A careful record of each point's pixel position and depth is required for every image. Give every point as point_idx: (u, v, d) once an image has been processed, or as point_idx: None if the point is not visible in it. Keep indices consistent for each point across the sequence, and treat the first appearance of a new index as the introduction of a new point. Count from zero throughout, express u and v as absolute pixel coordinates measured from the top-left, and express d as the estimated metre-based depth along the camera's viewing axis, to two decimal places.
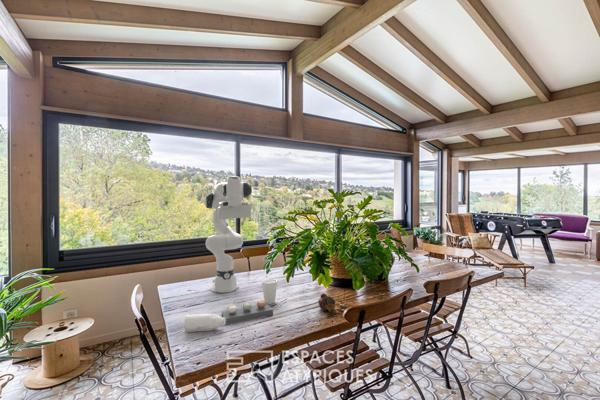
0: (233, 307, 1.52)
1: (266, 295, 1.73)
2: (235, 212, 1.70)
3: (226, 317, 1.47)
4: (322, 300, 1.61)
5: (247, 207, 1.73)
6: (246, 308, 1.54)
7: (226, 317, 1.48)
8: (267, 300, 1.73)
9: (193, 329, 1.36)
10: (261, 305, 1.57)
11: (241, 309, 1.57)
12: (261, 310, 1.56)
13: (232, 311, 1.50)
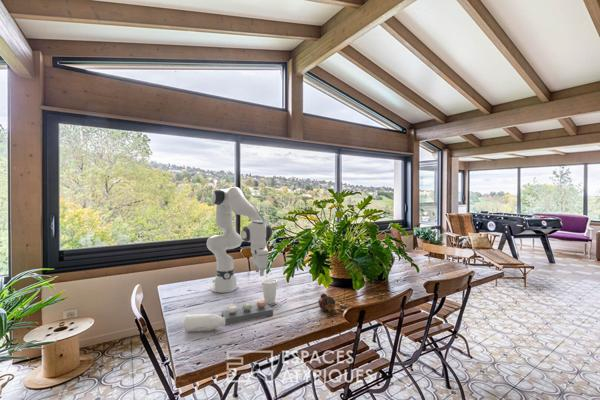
0: (233, 307, 1.52)
1: (266, 295, 1.73)
2: None
3: (226, 317, 1.47)
4: (322, 300, 1.61)
5: None
6: (246, 308, 1.54)
7: (226, 317, 1.48)
8: (267, 300, 1.73)
9: (193, 329, 1.36)
10: (261, 305, 1.57)
11: (241, 309, 1.57)
12: (261, 310, 1.56)
13: (232, 311, 1.50)
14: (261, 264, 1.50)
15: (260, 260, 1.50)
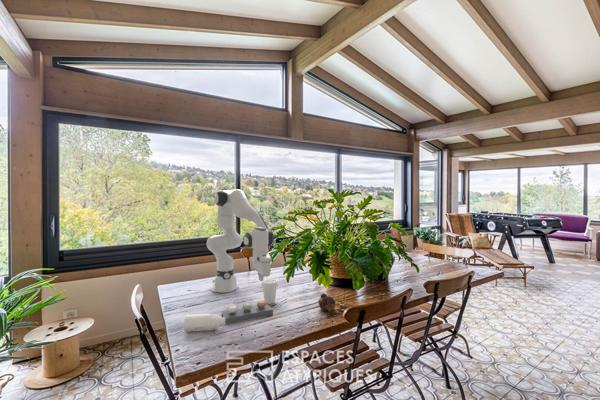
0: (233, 307, 1.52)
1: (266, 295, 1.73)
2: None
3: (226, 317, 1.47)
4: (322, 300, 1.61)
5: None
6: (246, 308, 1.54)
7: (226, 317, 1.48)
8: (267, 300, 1.73)
9: (193, 329, 1.36)
10: (261, 305, 1.57)
11: (241, 309, 1.57)
12: (261, 310, 1.56)
13: (232, 311, 1.50)
14: (264, 271, 1.49)
15: (263, 267, 1.49)
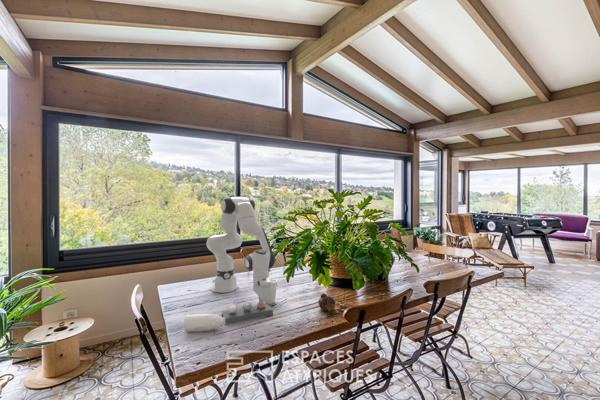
0: (233, 307, 1.52)
1: None
2: None
3: (226, 317, 1.47)
4: (322, 300, 1.61)
5: None
6: (246, 308, 1.54)
7: (226, 317, 1.48)
8: None
9: (193, 329, 1.36)
10: (261, 307, 1.57)
11: (241, 309, 1.57)
12: (261, 310, 1.56)
13: (232, 311, 1.50)
14: (264, 296, 1.50)
15: (263, 292, 1.50)
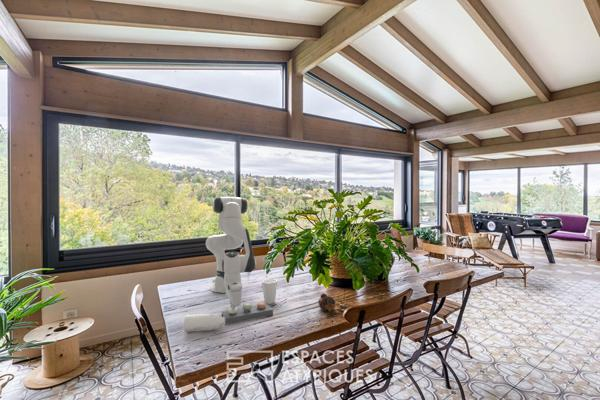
0: None
1: (266, 295, 1.73)
2: None
3: (226, 317, 1.47)
4: (322, 300, 1.61)
5: None
6: (246, 308, 1.54)
7: (226, 317, 1.48)
8: (267, 300, 1.73)
9: (193, 329, 1.36)
10: (261, 307, 1.57)
11: (241, 309, 1.57)
12: (261, 310, 1.56)
13: (232, 312, 1.50)
14: (234, 301, 1.43)
15: (233, 297, 1.43)
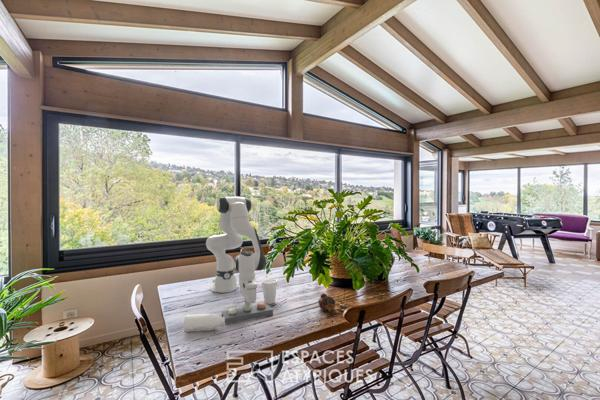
0: (233, 309, 1.52)
1: (266, 295, 1.73)
2: None
3: (226, 317, 1.47)
4: (322, 300, 1.61)
5: None
6: (246, 310, 1.54)
7: (226, 317, 1.48)
8: (267, 300, 1.73)
9: (192, 329, 1.36)
10: (261, 307, 1.57)
11: (241, 309, 1.57)
12: (261, 310, 1.56)
13: (232, 313, 1.50)
14: (250, 298, 1.46)
15: (249, 294, 1.46)
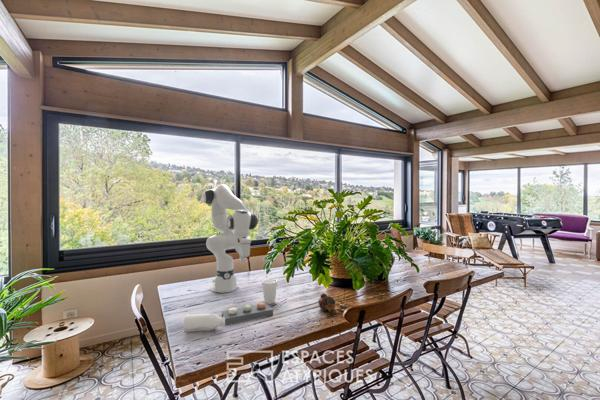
0: (233, 309, 1.52)
1: (266, 295, 1.73)
2: None
3: (226, 317, 1.47)
4: (322, 300, 1.61)
5: None
6: (246, 310, 1.54)
7: (226, 317, 1.48)
8: (267, 300, 1.73)
9: (192, 329, 1.36)
10: (261, 307, 1.57)
11: (241, 309, 1.57)
12: (261, 310, 1.56)
13: (232, 313, 1.50)
14: (244, 252, 1.55)
15: (243, 248, 1.55)
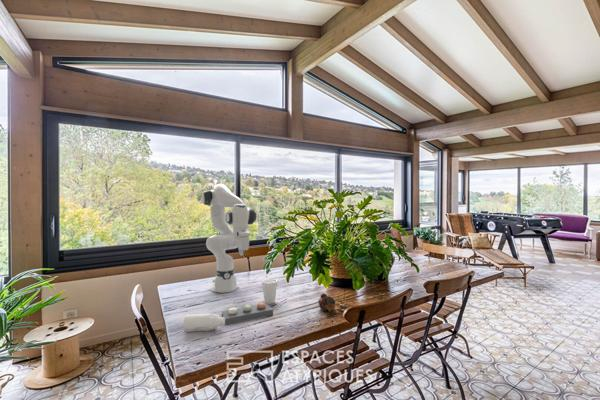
0: (233, 309, 1.52)
1: (266, 295, 1.73)
2: None
3: (226, 317, 1.47)
4: (322, 300, 1.61)
5: None
6: (246, 310, 1.54)
7: (226, 317, 1.48)
8: (267, 300, 1.73)
9: (192, 329, 1.36)
10: (261, 307, 1.57)
11: (241, 309, 1.57)
12: (261, 310, 1.56)
13: (232, 313, 1.50)
14: (243, 245, 1.56)
15: (242, 241, 1.57)
